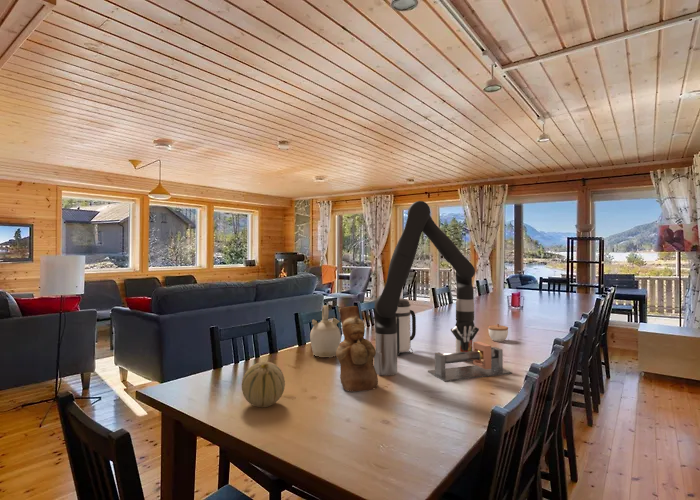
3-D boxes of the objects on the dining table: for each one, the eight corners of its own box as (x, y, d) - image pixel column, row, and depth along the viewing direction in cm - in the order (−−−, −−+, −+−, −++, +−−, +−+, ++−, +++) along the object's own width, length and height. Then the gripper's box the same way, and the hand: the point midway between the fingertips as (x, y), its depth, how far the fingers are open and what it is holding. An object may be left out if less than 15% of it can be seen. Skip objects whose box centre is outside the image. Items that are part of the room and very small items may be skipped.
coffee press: (414, 357, 202) (413, 295, 202) (381, 355, 205) (381, 295, 205) (416, 348, 219) (415, 291, 219) (385, 347, 222) (385, 291, 222)
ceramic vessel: (343, 395, 151) (342, 312, 151) (330, 377, 172) (329, 304, 172) (384, 390, 155) (383, 310, 155) (366, 373, 176) (365, 303, 176)
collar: (485, 369, 174) (485, 346, 174) (473, 364, 182) (473, 342, 182) (491, 368, 175) (491, 345, 175) (479, 363, 183) (479, 341, 183)
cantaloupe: (266, 394, 152) (266, 353, 152) (294, 403, 143) (293, 360, 143) (232, 406, 141) (231, 362, 141) (259, 417, 131) (259, 370, 131)
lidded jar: (484, 339, 239) (484, 323, 239) (498, 337, 244) (498, 321, 244) (498, 343, 230) (497, 326, 230) (512, 341, 234) (512, 324, 234)
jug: (342, 351, 215) (341, 303, 215) (338, 359, 200) (338, 307, 200) (313, 350, 217) (312, 302, 217) (307, 358, 201) (306, 307, 201)
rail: (444, 381, 165) (444, 358, 165) (427, 371, 178) (427, 350, 178) (511, 373, 175) (511, 351, 175) (490, 364, 188) (490, 344, 188)
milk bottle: (454, 360, 196) (453, 318, 196) (457, 356, 203) (457, 315, 203) (470, 362, 192) (470, 319, 192) (474, 358, 199) (473, 316, 199)
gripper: (456, 311, 170) (456, 353, 170) (483, 310, 174) (483, 351, 174) (446, 308, 177) (446, 349, 177) (473, 307, 181) (472, 347, 182)
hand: (464, 350), depth 176 cm, fingers closed
